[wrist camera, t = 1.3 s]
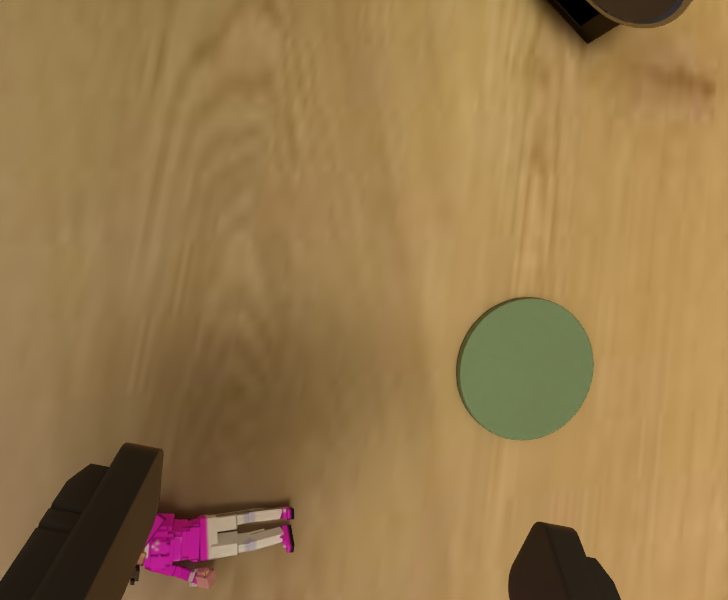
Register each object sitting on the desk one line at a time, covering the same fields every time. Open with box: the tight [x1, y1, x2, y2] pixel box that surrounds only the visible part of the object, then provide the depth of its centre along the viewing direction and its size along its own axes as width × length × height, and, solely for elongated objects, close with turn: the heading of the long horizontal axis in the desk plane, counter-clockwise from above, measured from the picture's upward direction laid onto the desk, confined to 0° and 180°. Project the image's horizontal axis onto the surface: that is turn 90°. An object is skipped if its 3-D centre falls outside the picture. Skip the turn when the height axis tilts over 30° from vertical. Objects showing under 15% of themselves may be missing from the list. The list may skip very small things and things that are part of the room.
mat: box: [457, 298, 594, 440], centre depth 35 cm, size 9×9×1 cm
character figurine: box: [130, 506, 294, 589], centre depth 30 cm, size 6×5×12 cm
